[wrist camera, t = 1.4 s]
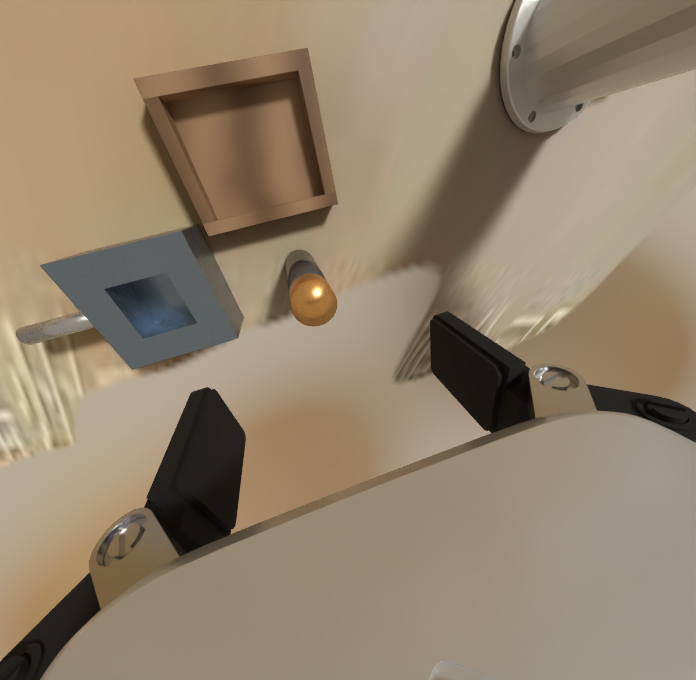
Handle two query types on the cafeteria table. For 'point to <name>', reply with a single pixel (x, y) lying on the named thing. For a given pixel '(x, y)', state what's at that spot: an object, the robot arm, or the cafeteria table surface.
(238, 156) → the tray
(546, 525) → the robot arm
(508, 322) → the cafeteria table surface
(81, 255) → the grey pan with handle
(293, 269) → the orange grey cylinder
